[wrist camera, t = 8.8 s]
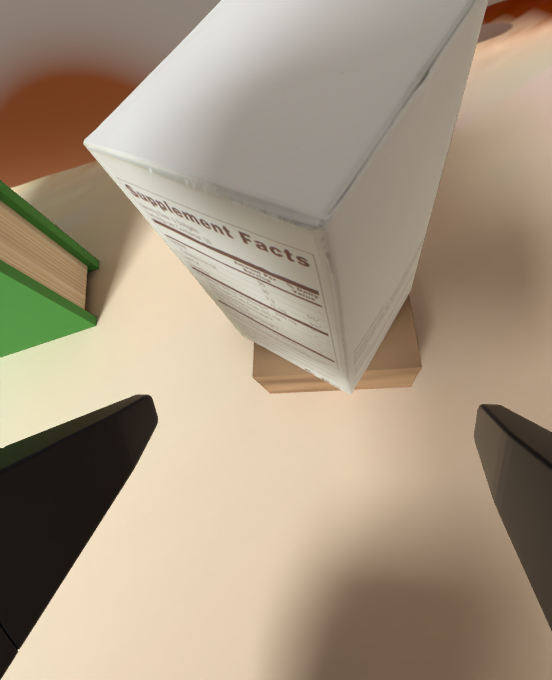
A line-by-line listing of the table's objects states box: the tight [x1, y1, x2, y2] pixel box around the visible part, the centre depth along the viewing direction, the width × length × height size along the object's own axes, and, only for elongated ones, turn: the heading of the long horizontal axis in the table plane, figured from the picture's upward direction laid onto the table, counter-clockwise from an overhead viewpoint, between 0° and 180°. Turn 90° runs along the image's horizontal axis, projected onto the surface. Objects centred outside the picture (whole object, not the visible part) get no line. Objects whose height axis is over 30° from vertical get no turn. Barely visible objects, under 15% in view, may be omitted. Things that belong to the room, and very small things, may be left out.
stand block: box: [253, 294, 422, 393], centre depth 21 cm, size 9×9×4 cm
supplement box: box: [83, 0, 488, 394], centre depth 13 cm, size 7×7×13 cm
